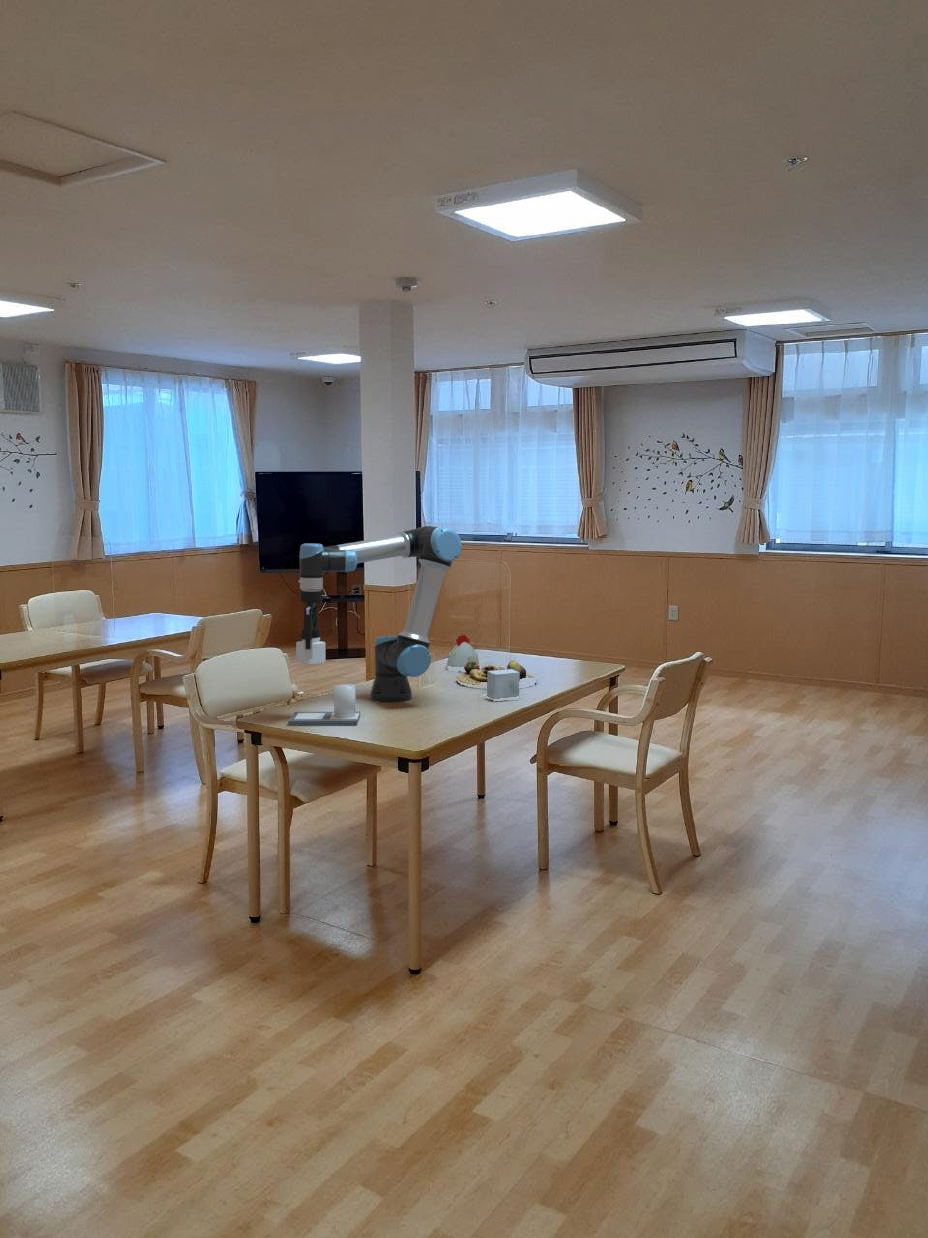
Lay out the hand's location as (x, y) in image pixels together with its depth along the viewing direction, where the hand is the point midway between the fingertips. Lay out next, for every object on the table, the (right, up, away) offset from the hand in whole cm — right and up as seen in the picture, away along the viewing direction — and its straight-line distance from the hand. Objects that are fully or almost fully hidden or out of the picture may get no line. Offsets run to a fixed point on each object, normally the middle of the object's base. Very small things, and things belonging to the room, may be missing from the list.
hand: (310, 656), depth 340 cm
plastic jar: (+12, -19, -4) cm, 23 cm away
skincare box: (+66, -17, +31) cm, 74 cm away
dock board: (+5, -21, -4) cm, 22 cm away
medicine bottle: (0, -2, 0) cm, 2 cm away
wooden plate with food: (+64, -13, +64) cm, 92 cm away
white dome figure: (+51, -9, +92) cm, 105 cm away
